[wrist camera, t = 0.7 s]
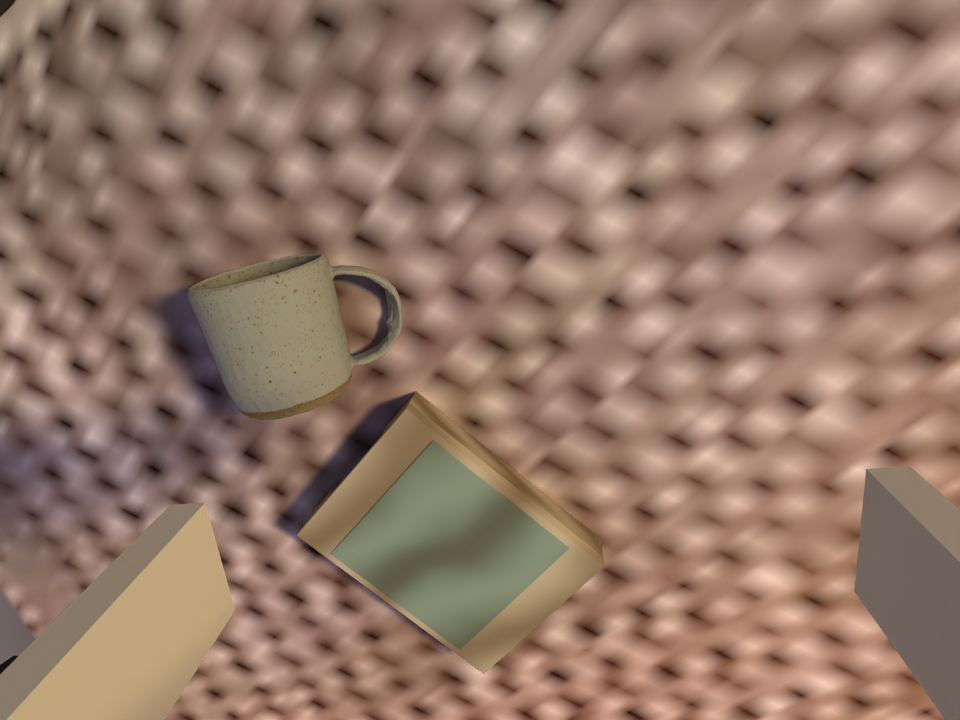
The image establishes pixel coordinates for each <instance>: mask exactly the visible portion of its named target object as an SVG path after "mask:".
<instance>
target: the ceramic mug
mask: <svg viewBox="0 0 960 720" xmlns="http://www.w3.org/2000/svg"><path fill="white" fill-rule="evenodd" d="M342 274H347V275H355V276H362V277H366V278H369V279H371V280H373V281H374V282H376V283H378V284H379V285H380V286H382V287H383V288H384V290H385V295H386V301H387V308H388V319H387V321H386V325H387V328H388V329H389V330H388V334H387V335H386V336H385V338H384V339H383V340H382V341H381V343H379V344H378V345H377V346H374V347H373V348H372V349H370V350H368V351H365V352H363V353H361V354H357V355H354V356H351V354H350V350H349V346H348V342H347V338H346V332H345V328H344V326H343V323H342V319H341V315H340V309H339V303H338V299H337V295H336V290H335V286H334V282H333V278H334V277H335V276H337V275H342ZM188 298H189V301H190V303H191V305H192V308H193V310H194V312H195V314H196V317H197V320H198V322H199V324H200V327H201V329H202V332H203V334H204V337H205V339H206V342H207V344H208V347H209V349H210V351H211V353H212V356H213V358H214V360H215V362H216V365H217V368H218V370H219V373H220V375H221V378H222V380H223V383H224V385H225V388H226V390H227V392H228V394H229V396H230V397H231V399H232V400H233V402H234V403H235V405H236V406H237V408H238V409H239V410H240V411H241V412H242V413H243V414H244V415H246V416H248V417H250V418H255V419H260V420H271V419H280V418H285V417H289V416H293V415H297V414H300V413H304V412H307V411H310V410H312V409H314V408H317V407H319V406H322V405H324V404H326V403H328V402H330V401H332V400H333V399H335V398H336V397H338V396H339V395H340V394H341V393H342V392H343V391H344V390H345V389H346V387H347V386H348V384H349V382H350V380H351V377H352V369H353V368H354V367H355V366H361V365H364V364H367V363H370V362H372V361H374V360H376V359H378V358H380V357H381V356H382V355H384V354H385V353H387V352H388V351H389V350H390V349H391V348H392V346H393V345H394V343H395V342H396V340H397V339H398V336H399V334H400V332H401V328H402V322H403V311H402V305H401V300H400V297H399V295H398V292H397V291H396V289H395V288H394V286H393V285H392V284H391V283H390V282H389V281H388V280H387V279H386V278H384V277H383V276H381V275H380V274H378V273H376V272H374V271H372V270H370V269H367V268H363V267H358V266H330V264H329V261H328V259H327V257H326V256H325V255H324V254H318V253H314V254H313V253H310V254H302V255H297V256H288V257H283V258H278V259H274V260H268V261H265V262H260V263H256V264H253V265H249V266H245V267H241V268H238V269H234V270H230V271H227V272H224V273H222V274H219V275H216V276H213V277H211V278H209V279H205V280H204V281H201V282H199V283H197V284H195V285H193V286H192V287H190V288H189V289H188Z"/></svg>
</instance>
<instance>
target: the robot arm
mask: <svg viewBox="0 0 960 720" xmlns="http://www.w3.org/2000/svg"><path fill="white" fill-rule="evenodd" d="M13 1H14V0H0V14H1V13H3V12H4V11H5V10H6V9H7V8H8V7H9V6H10V5H11V4H12V2H13ZM855 593H856V594H857V595H858V597H859V598H860V600H861V601H862V602H863V604H864V605H865V607H866V608H867V610H868V611H869V612H870V614H871V615H872V617H873V618H874V619H875V621H876V622H877V624H878V625H879V626H880V628H881V629H882V631H883V632H884V634H885V635H886V636H887V638H888V639H889V641H890V642H891V643H892V645H893V646H894V648H895V649H896V651H897V652H898V653H899V655H900V656H901V658H902V659H903V660H904V662H905V663H906V665H907V666H908V668H909V669H910V670H911V672H912V673H913V675H914V676H915V677H916V679H917V680H918V682H919V683H920V685H921V686H922V687H923V689H924V690H925V692H926V693H927V694H928V696H929V697H930V699H931V700H932V701H933V703H934V704H935V706H936V707H937V709H938V710H939V711H940V713H941V714H942V716H943V717H944V718H945V720H960V510H959V509H958V508H957V507H956V506H955V505H953V504H952V503H951V502H950V501H949V500H948V499H947V498H945V497H944V496H943V495H942V494H941V493H940V492H939V491H937V490H936V489H935V488H934V487H933V486H932V485H931V484H929V483H928V482H927V481H926V480H925V479H924V478H922V477H921V476H920V475H919V474H918V473H917V472H916V471H914V470H913V469H912V468H911V467H896V468H876V469H866V478H865V488H864V498H863V509H862V519H861V529H860V539H859V550H858V560H857V570H856V580H855ZM234 611H235V608H234V605H233V601H232V598H231V594H230V590H229V587H228V583H227V580H226V576H225V573H224V569H223V565H222V562H221V558H220V555H219V551H218V548H217V544H216V540H215V537H214V533H213V530H212V526H211V523H210V519H209V516H208V512H207V508H206V505H205V503H193V504H174V505H170V506H169V507H168V508H167V509H166V510H165V511H164V512H163V513H162V514H161V515H160V516H159V517H158V518H157V519H156V520H155V521H154V522H153V523H152V524H151V525H150V526H149V527H148V528H147V529H146V530H145V531H144V532H143V533H142V534H141V535H140V536H139V537H138V538H137V539H136V540H135V541H134V542H133V543H132V544H131V545H130V546H129V547H128V548H127V549H126V550H125V551H124V552H123V553H122V554H121V555H120V556H119V557H118V558H117V559H116V560H115V561H114V562H113V563H112V564H111V565H110V566H109V567H108V568H107V569H106V570H105V571H104V572H103V573H102V574H101V575H100V576H99V577H98V578H97V579H96V580H95V581H94V582H93V583H92V584H91V585H90V586H89V587H88V588H87V589H86V590H85V591H84V592H83V593H82V594H81V595H80V596H79V597H78V598H77V599H76V600H75V601H74V602H73V603H72V604H71V605H70V606H69V607H68V608H67V609H66V610H65V611H64V612H63V613H62V614H61V615H60V616H59V617H58V618H57V619H56V620H54V621H53V622H52V623H51V624H50V625H49V626H48V627H47V628H46V629H45V630H44V631H43V632H42V633H41V634H40V635H39V636H38V637H37V638H36V639H35V640H34V641H33V642H32V643H31V644H30V645H29V646H28V647H27V648H26V649H25V650H24V652H22V653H21V654H20V655H19V656H13V657H11V658H10V659H8V660H7V661H6V662H4V663H3V664H1V665H0V720H165V718H166V717H167V715H168V714H169V712H170V710H171V709H172V707H173V706H174V704H175V703H176V701H177V700H178V698H179V696H180V695H181V693H182V692H183V690H184V689H185V687H186V686H187V684H188V682H189V681H190V679H191V678H192V676H193V675H194V673H195V672H196V670H197V668H198V667H199V665H200V664H201V662H202V661H203V659H204V657H205V656H206V654H207V653H208V651H209V650H210V648H211V647H212V645H213V643H214V642H215V640H216V639H217V637H218V636H219V634H220V633H221V631H222V629H223V628H224V626H225V625H226V623H227V622H228V620H229V619H230V617H231V615H232V614H233V612H234Z"/></svg>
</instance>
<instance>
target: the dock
mask: <svg viewBox="0 0 960 720" xmlns="http://www.w3.org/2000/svg"><path fill="white" fill-rule="evenodd" d="M297 536H298V537H299V538H301V539H302V540H303V541H305V542H306V543H307V544H309V545H310V546H311V547H313V548H314V549H316V550H317V551H318V552H320V553H321V554H322V555H324V556H325V557H326V558H328V559H329V560H330V561H332V562H333V563H334V564H336V565H337V566H339V567H340V568H341V569H343V570H344V571H345V572H347V573H348V574H349V575H351V576H352V577H353V578H355V579H356V580H357V581H359V582H360V583H361V584H363V585H364V586H366V587H367V588H368V589H370V590H371V591H372V592H374V593H375V594H376V595H378V596H379V597H380V598H382V599H383V600H384V601H386V602H387V603H389V604H390V605H391V606H393V607H394V608H395V609H397V610H398V611H399V612H401V613H402V614H403V615H405V616H406V617H407V618H409V619H410V620H412V621H413V622H414V623H416V624H417V625H418V626H420V627H421V628H422V629H424V630H425V631H426V632H428V633H429V634H430V635H432V636H433V637H435V638H436V639H437V640H439V641H440V642H441V643H443V644H444V645H445V646H447V647H448V648H449V649H451V650H452V651H453V652H455V653H456V654H458V655H459V656H460V657H462V658H463V659H464V660H466V661H467V662H468V663H470V664H471V665H472V666H474V667H475V668H476V669H478V670H479V671H481V672H482V673H483V674H484V673H485V672H486V671H488V670H489V669H490V668H491V667H492V666H493V665H494V664H495V663H496V662H498V661H499V660H500V659H501V658H502V657H503V656H504V655H505V654H507V653H508V652H509V651H510V650H511V649H512V648H513V647H514V646H515V645H517V644H518V643H519V642H520V641H521V640H522V639H523V638H524V637H526V636H527V635H528V634H529V633H530V632H531V631H532V630H533V629H535V628H536V627H537V626H538V625H539V624H540V623H541V622H542V621H543V620H545V619H546V618H547V617H548V616H549V615H550V614H551V613H552V612H554V611H555V610H556V609H557V608H558V607H559V606H560V605H561V604H563V603H564V602H565V601H566V600H567V599H568V598H569V597H570V596H571V595H573V594H574V593H575V592H576V591H577V590H578V589H579V588H580V587H582V586H583V585H584V584H585V583H586V582H587V581H588V580H589V579H590V578H592V577H593V576H594V575H595V574H596V573H597V572H598V571H599V570H601V569H602V568H603V567H604V559H603V552H602V545H601V539H600V538H599V537H598V536H597V535H595V534H594V533H593V532H592V531H590V530H589V529H588V528H587V527H585V526H584V525H583V524H582V523H580V522H579V521H578V520H576V519H575V518H574V517H573V516H571V515H570V514H569V513H568V512H566V511H565V510H564V509H563V508H561V507H560V506H559V505H558V504H556V503H555V502H554V501H553V500H551V499H550V498H549V497H548V496H546V495H545V494H544V493H543V492H541V491H540V490H539V489H538V488H536V487H535V486H534V485H533V484H531V483H530V482H529V481H528V480H526V479H525V478H524V477H523V476H521V475H520V474H519V473H518V472H516V471H515V470H514V469H513V468H511V467H510V466H509V465H508V464H506V463H505V462H504V461H502V460H501V459H500V458H499V457H497V456H496V455H495V454H494V453H492V452H491V451H490V450H489V449H487V448H486V447H485V446H484V445H482V444H481V443H480V442H479V441H477V440H476V439H475V438H474V437H472V436H471V435H470V434H469V433H467V432H466V431H465V430H464V429H462V428H461V427H460V426H459V425H457V424H456V423H455V422H454V421H452V420H451V419H450V418H449V417H447V416H446V415H445V414H444V413H442V412H441V411H440V410H439V409H437V408H436V407H435V406H434V405H432V404H431V403H430V402H428V401H427V400H426V399H425V398H423V397H422V396H421V395H420V394H418V393H417V392H415V393H414V394H413V395H412V396H411V397H410V399H409V400H408V401H407V402H406V403H405V404H404V406H403V407H402V408H401V409H400V410H399V411H398V413H397V414H396V415H395V416H394V417H393V418H392V419H391V421H390V422H389V423H388V425H387V426H386V428H385V430H384V431H383V433H382V435H381V436H380V437H379V439H378V440H377V441H376V442H375V443H374V444H373V446H372V447H371V448H370V449H369V450H368V451H367V453H366V454H365V455H364V456H363V457H362V458H361V459H360V461H359V462H358V463H357V464H356V465H355V466H354V468H353V469H352V470H351V471H350V472H349V473H348V475H347V476H346V477H345V478H344V479H343V480H342V481H341V483H340V484H337V483H336V485H335V486H334V487H333V488H332V489H331V490H330V492H329V493H328V494H327V495H326V496H325V497H324V498H323V500H322V501H321V502H320V503H319V504H318V505H317V507H316V508H315V509H314V510H313V511H312V513H311V514H310V516H309V517H308V519H307V520H306V522H305V524H304V525H303V527H302V528H301V530H300V531H299V533H298V534H297Z"/></svg>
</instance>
